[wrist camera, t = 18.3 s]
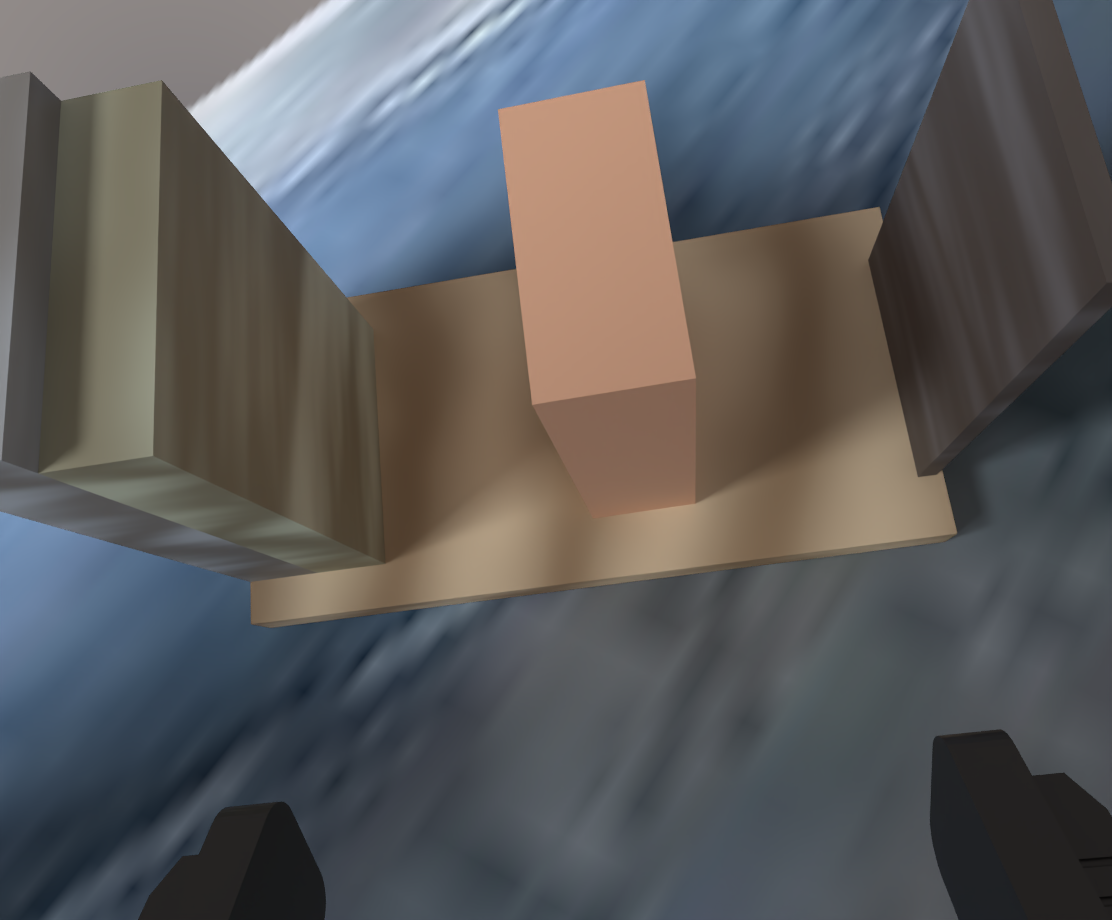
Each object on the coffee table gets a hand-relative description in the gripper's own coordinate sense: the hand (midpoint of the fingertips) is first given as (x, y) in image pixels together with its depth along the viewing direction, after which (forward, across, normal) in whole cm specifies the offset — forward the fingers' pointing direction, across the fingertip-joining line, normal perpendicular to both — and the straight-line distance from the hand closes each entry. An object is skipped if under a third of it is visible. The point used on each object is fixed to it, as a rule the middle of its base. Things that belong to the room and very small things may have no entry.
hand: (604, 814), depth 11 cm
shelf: (+22, +2, +6) cm, 23 cm away
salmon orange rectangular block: (+21, -1, +5) cm, 21 cm away
